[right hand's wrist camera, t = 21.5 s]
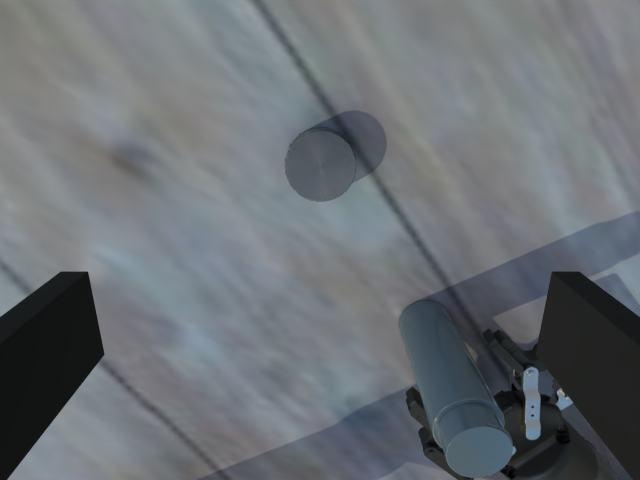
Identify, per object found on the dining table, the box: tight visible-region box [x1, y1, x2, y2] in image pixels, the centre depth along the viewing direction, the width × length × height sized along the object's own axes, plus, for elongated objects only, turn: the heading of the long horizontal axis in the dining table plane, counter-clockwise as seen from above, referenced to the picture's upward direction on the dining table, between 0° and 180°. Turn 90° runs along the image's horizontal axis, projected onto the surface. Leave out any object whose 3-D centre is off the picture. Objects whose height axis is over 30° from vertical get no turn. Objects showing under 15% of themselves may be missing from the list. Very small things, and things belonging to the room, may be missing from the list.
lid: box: [285, 127, 356, 202], centre depth 36 cm, size 6×6×2 cm
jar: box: [399, 300, 513, 478], centre depth 36 cm, size 5×5×16 cm
